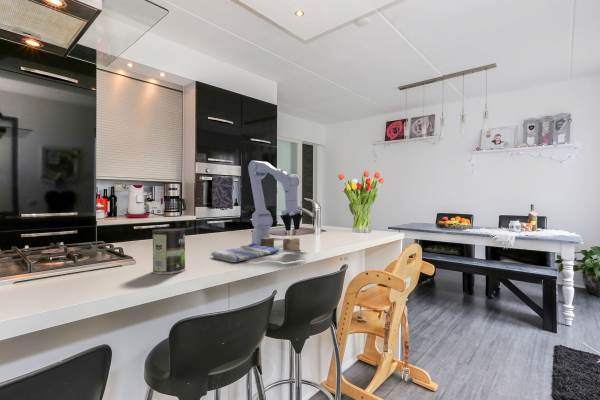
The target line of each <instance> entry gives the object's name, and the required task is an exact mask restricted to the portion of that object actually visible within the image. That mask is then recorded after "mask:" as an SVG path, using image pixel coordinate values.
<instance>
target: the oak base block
mask: <svg viewBox="0 0 600 400" xmlns="http://www.w3.org/2000/svg"><path fill="white" fill-rule="evenodd" d="M300 241H301V240H300V237H293V236H292V237H283V238H282V245H283V249H286V250H290V251H289V252H292V251H291V250H295V251H298V250H297V249H301V247H300V245H301V244H300Z"/></svg>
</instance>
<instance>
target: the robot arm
mask: <svg viewBox="0 0 600 400" xmlns="http://www.w3.org/2000/svg"><path fill="white" fill-rule="evenodd" d="M247 169H248V176H249V178H250V179H249V180H250V184H251V191H252V197H253V203H254V208H255V211H254V212H253V213H252V214H251V218H252V219H251V224H252V226H253V230H252V232H251V244H255V245H259V246H261V238H267V237H269V238H270V229H271V227H272V226H273V223H274V222H273V221H274V219H273V217H272V214H271V211H269V210H268V209H267V207H266V202H265V197H264V189H263V186H262V185H263V184H262V180H263V179H264V178H265V177H266V176H267V174H268V173H269V175H272V176H273V178H274V179H275V180H276V181H277V182H279V183H280V184H281V185H282V187H283V191H284V204H285V205H284V207H285V208H284V209H285V210H281V215H280V216H279V217H280V219H281V220H282V222H283V224H284V228H285V230H286V231H289V232H290V231H291V229H292V222H293V229H294V230H300V225H301V221H302V218H303V215H304V214H302V210H301V209H299V208H298V186H299V184H300V179H299V177H298V176H297V175H295V174H293V175H292V174H291V173H290V172H287V171H285V169H284V168H277V167H275V166H273V165H272V164H271V163H270V162H268V161H259V160H254V159H253V160H251V161H250V162H249V164H248V167H247Z"/></svg>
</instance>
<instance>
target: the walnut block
mask: <svg viewBox="0 0 600 400" xmlns="http://www.w3.org/2000/svg"><path fill="white" fill-rule="evenodd" d="M274 239H275V238H274V237H270V236H269V237H267V238H261V245H260V246H266V247H272V248H274V246H275V240H274Z"/></svg>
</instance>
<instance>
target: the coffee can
mask: <svg viewBox="0 0 600 400" xmlns="http://www.w3.org/2000/svg"><path fill="white" fill-rule="evenodd" d="M151 232H152V274H154V275H172V274H173V275H174V274H179V273H182V272H184V271H186V228H179V227H177V228H176V227H174V228H157V229H153V230H151Z"/></svg>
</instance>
